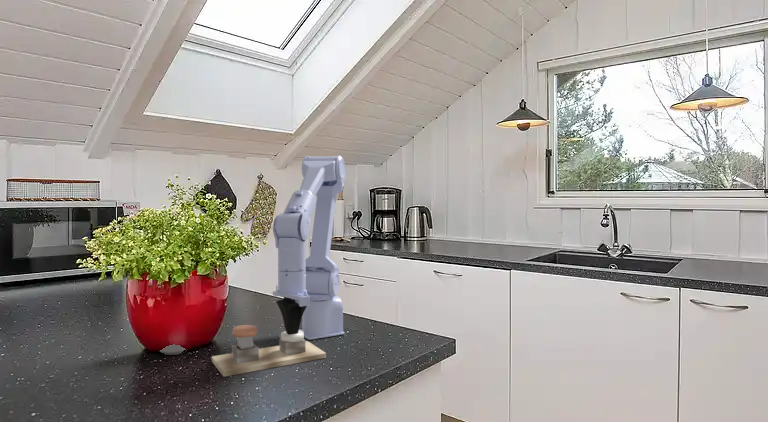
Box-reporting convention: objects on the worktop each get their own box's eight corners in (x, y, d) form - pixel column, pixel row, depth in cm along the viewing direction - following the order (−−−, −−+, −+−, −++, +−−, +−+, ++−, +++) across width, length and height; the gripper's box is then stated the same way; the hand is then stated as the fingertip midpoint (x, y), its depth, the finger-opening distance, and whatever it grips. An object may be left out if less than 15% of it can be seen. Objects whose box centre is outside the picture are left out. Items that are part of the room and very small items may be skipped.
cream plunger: (298, 346, 111) (298, 328, 111) (307, 352, 107) (307, 334, 106) (277, 349, 108) (277, 332, 108) (285, 355, 104) (285, 337, 104)
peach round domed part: (253, 341, 106) (253, 323, 105) (260, 347, 101) (260, 329, 101) (230, 345, 103) (229, 326, 103) (236, 351, 99) (236, 332, 99)
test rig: (307, 345, 115) (307, 329, 114) (326, 357, 106) (325, 341, 106) (211, 361, 104) (211, 344, 104) (223, 376, 95) (223, 358, 95)
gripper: (262, 266, 111) (263, 328, 111) (285, 276, 98) (286, 345, 99) (293, 264, 115) (293, 323, 115) (319, 273, 102) (319, 340, 103)
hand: (292, 333), depth 107 cm, fingers closed, pressing on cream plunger
